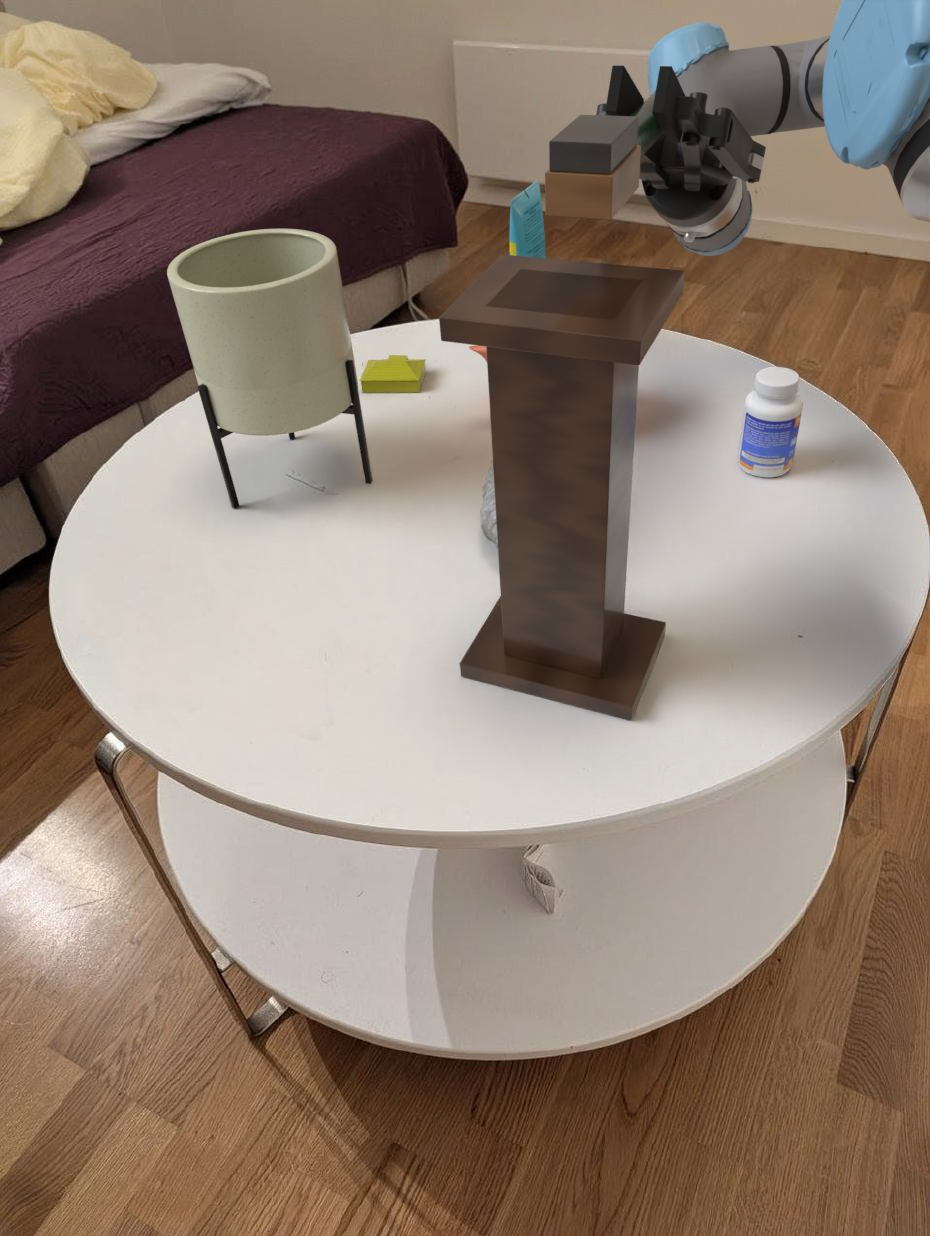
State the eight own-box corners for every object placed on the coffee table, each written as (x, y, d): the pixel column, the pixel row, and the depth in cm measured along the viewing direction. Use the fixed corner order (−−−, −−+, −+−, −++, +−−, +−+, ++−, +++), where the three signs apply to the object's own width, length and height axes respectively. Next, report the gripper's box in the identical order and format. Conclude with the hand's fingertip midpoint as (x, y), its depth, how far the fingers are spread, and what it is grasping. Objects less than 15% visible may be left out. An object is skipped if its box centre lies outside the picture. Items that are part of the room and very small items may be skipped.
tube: (522, 336, 119) (516, 178, 107) (557, 339, 118) (556, 180, 105) (502, 361, 114) (494, 199, 102) (539, 365, 113) (536, 202, 100)
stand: (664, 635, 75) (701, 271, 56) (631, 721, 69) (659, 342, 49) (506, 599, 80) (487, 252, 60) (460, 676, 74) (422, 315, 54)
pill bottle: (797, 477, 91) (815, 388, 85) (742, 480, 91) (756, 391, 85) (784, 448, 95) (800, 361, 89) (731, 451, 95) (743, 364, 89)
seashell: (468, 553, 81) (484, 463, 78) (477, 517, 94) (491, 439, 91) (539, 566, 81) (558, 477, 78) (539, 529, 94) (555, 451, 91)
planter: (343, 525, 90) (299, 295, 75) (201, 507, 94) (132, 286, 79) (397, 445, 101) (368, 230, 86) (267, 432, 105) (217, 224, 90)
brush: (640, 119, 68) (643, 57, 65) (694, 121, 67) (700, 58, 64) (545, 216, 54) (544, 142, 51) (611, 220, 53) (613, 144, 50)
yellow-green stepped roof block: (347, 399, 110) (343, 377, 108) (362, 363, 116) (359, 342, 115) (430, 398, 108) (427, 376, 106) (440, 362, 115) (438, 341, 113)
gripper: (774, 235, 79) (748, 158, 57) (600, 222, 84) (516, 147, 62) (794, 139, 77) (775, 23, 55) (614, 132, 82) (533, 24, 61)
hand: (638, 89), depth 59 cm, fingers closed on brush, 2 cm apart
